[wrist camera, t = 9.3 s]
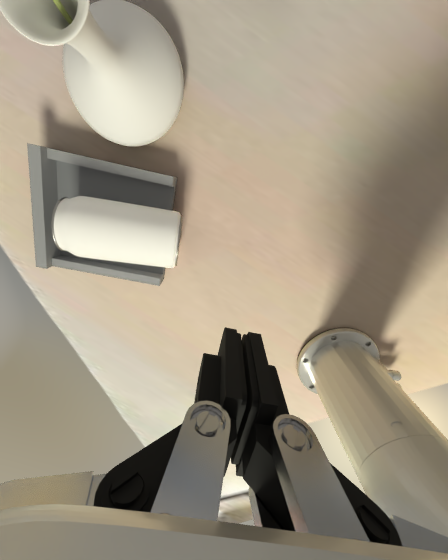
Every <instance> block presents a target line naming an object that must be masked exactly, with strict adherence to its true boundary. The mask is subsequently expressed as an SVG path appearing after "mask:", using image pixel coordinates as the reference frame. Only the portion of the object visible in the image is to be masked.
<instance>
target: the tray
mask: <svg viewBox="0 0 448 560" xmlns="http://www.w3.org/2000/svg"><path fill="white" fill-rule="evenodd" d="M27 146H28V160H29V174H30V188H31V202H32V216H33V230H34V244H35V258H36V267H41V268H46V269H47V268H49V267H51V266H55V267H60V268H66V269H71V270H77V271H82V272H87V273H93V274H98V275H103V276H109V277H114V278H120V279H125V280H130V281H136V282H141V283H147V284H152V285H157V286H160V284H161V283H162V281H163V279H164V273H165V267H157V266H149V265H141V264H132V263H124V262H116V261H108V260H100V259H92V258H84V257H79V256H75V255H73V254H72V253H70V252H68V251H61V250H60V249H58V247H57V246H56V244H55V242H54V240H53V236H52V228H51V222H52V214H53V210H54V207H55V205H56V203H57V202H58V201H59V200H60V199H61V198H63V197H67V198H69V199H70V198H74V197H77V196H86V197H93V198H99V199H106V200H112V201H118V202H124V203H130V204H136V205H142V206H148V207H154V208H160V209H165V210H171V211H173V205H174V198H175V190H176V183H177V177H173V176H168V175H164V174H160V173H155V172H151V171H146V170H142V169H138V168H133V167H129V166H125V165H120V164H116V163H112V162H107V161H103V160H99V159H94V158H90V157H86V156H81V155H77V154H72V153H68V152H64V151H59V150H55V149H51V148H46V147H42V146H37V145H33V144H28V143H27Z"/></svg>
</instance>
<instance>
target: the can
mask: <svg viewBox="0 0 448 560" xmlns="http://www.w3.org/2000/svg"><path fill="white" fill-rule="evenodd" d="M181 225H182V215H181V214H180V213H179V212H176V211H171V210H165V209H160V208H154V207H148V206H142V205H136V204H130V203H124V202H118V201H112V200H106V199H99V198H93V197H86V196H77V197H74V198H70V199H69V198H67V197H63V198H61V199H60V200H59V201H58V202H57V203H56V205H55V207H54V210H53V214H52V222H51V228H52V236H53V240H54V242H55V244H56V246H57V247H58V249H60V250H61V251H68V252H70V253H72V254H73V255H75V256H79V257H84V258H92V259H100V260H108V261H116V262H124V263H132V264H141V265H149V266H157V267H166V268H173V267H174V266H177V259H178V251H179V243H180V234H181Z"/></svg>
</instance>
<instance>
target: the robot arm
mask: <svg viewBox="0 0 448 560" xmlns="http://www.w3.org/2000/svg"><path fill="white" fill-rule="evenodd" d="M379 360H380V356H379V350H378V348H377V346H376V344H375V343H374V342H373V341H372V340H371V339H370V338H369V337H368V336H367V335H366V334H364V333H363V332H360V331H358V330H354V329H349V328H339V329H333V330H329V331H326V332H324V333H322V334H320V335H318V336H316V337H315V338H313V339H312V340H310V341H309V342H308V343H307V344H306V345H305V347H304V348H303V349H302V351H301V352H300V355H299V357H298V361H297V372H298V375H299V377H300V380H301V382H302V383H303V385H304V386H305V387H306V388H307V389H309V390H310V391H312V392H314V393H316V394H318V395H319V397H320V399H321V401H322V403H323V405H324V408H325V410H326V412H327V414H328V416H329V418H330V420H331V422H332V424H333V426H334V428H335V431H336V432H337V435H338V437H339V439H340V441H341V443H342V445H343V447H344V449H345V451H346V454H347V455H348V458H349V460H350V462H351V464H352V466H353V468H354V470H355V472H356V474H357V477H358V479H359V481H360V483H361V485H362V487H363V489H364V491H365V493H366V495H365V494H364V493H363V492H362V491H361V490H360V489H359V488H358V487H356V486H355V485H354V484H353V483H352V482H351V481H350V480H349V479H347V478H346V477H345V476H344V475H343V474H342V473H341V472H339V471H338V470H337V469H336V468H335V467H334V466H332V464H331V463H330V462H329V460H328V459H327V457H326V455H325V453H324V451H323V449H322V447H321V445H320V443H319V441H318V439H317V437H316V435H315V433H314V432H313V430H312V429H311V427H310V426H309V425H308V424H307V423H306V422H304V421H303V420H301V419H300V418H298V417H296V416H293V415H289V412H288V409H287V405H286V402H285V398H284V395H283V391H282V388H281V384H280V381H279V377H278V374H277V370H276V368H275V366H272V365H268V361H267V357H266V353H265V349H264V345H263V341H262V337H261V334H256V333H251V332H248V334H247V335H245V334H244V335H243V337H242V341H241V334H240V333H237V330H235V329H230V328H224V332H223V336H222V340H221V344H220V348H219V352H218V356H217V355H211V354H206V353H204V354H203V358H202V363H201V367H200V372H199V377H198V383H197V389H196V396H195V402H194V404H193V405H192V406H191V407H190V408H189V409H188V411H187V413H186V415H185V418H184V421H183V423H182V424H181V425H179V426H178V427H176V428H175V429H173V430H172V431H170V432H168V433H167V434H165V435H164V436H162V437H161V438H159V439H158V440H156V441H154V442H153V443H151V444H150V445H148V446H147V447H145V448H143V449H142V450H140V451H139V452H138V453H136V454H134V455H133V456H131V457H130V458H128V459H126V460H125V461H123V462H122V463H120V464H119V465H117V466H115V467H114V468H113V469H112V470H110V471H109V472H108V473H107V474H100V475H93V473H94V472H93V471H91V472H82V473H73V474H63V475H54V476H45V477H35V478H26V479H17V480H12V481H9V482H4V483H1V484H0V560H448V440H447V439H446V437H445V436H444V435H443V434H442V433H441V432H440V431H439V430H438V429H437V427H436V426H435V425H434V424H433V423H432V422H431V421H430V420H429V419H428V417H427V416H426V415H425V414H424V413H423V412H422V411H421V410H420V409H419V407H418V406H417V405H416V404H415V403H414V402H413V401H412V400H411V399H410V398H409V396H408V395H407V394H406V393H405V392H404V391H403V390H402V388H401V386H400V385H399V384H398V383H396V382H395V381H394V380H397V381H399V380H400V379H401V374H400V372H398V371H394V370H387V369H386V368H385V367H384V365H383V364H382V363H381V362H380V361H379ZM230 458H231V463H232V464H236V476H243V479H244V480H245V481H246V483H247V484H248V485H249V499H250V504H251V509H252V514H253V519H254V524H255V526H250V525H243V524H235V523H228V522H220V521H217V518H218V511H219V504H220V497H221V490H222V483H223V477H224V476H225V473H226V470H227V467H228V464H229V461H230Z"/></svg>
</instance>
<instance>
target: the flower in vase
mask: <svg viewBox="0 0 448 560" xmlns="http://www.w3.org/2000/svg"><path fill="white" fill-rule="evenodd" d="M0 11H1V12H2V13H3V15H4V16H5V18H6V19H7V20H8V21H9V23H10V24H11V25H12V26H13V27H14V28H15V29H16V30H17V31H18V32H20V33H21V34H22V35H23V36H25V37H26V38H28V39H30V40H32V41H34V42H36V43H39V44H42V45H48V46H58V45H63V44H64V47H63V72H64V77H65V82H66V85H67V88H68V91H69V94H70V96H71V98H72V100H73V102H74V104H75V106H76V108H77V110H78V111H79V113H80V114H81V116H82V117H83V119H84V120H85V121H86V122H87V124H88V125H89V126H90V127H91V128H92V129H93V130H94V131H96V132H97V133H98V134H100V135H101V136H102V137H104V138H106V139H107V140H109V141H112V142H114V143H117V144H120V145H125V146H142V145H146V144H150V143H152V142H154V141H156V140H158V139H159V138H160V137H162V136H163V135H164V134H165V133H166V132H167V131H168V130H169V129H170V128H171V126H172V125H173V123H174V122H175V120H176V118H177V116H178V114H179V111H180V108H181V105H182V100H183V93H184V76H183V69H182V64H181V60H180V57H179V54H178V51H177V49H176V47H175V45H174V42H173V40H172V39H171V37H170V35H169V34H168V32H167V31H166V29H165V28H164V27H163V26H162V25H161V23H160V22H159V21H158V20H157V19H156V18H155V17H154V16H152V15H151V14H150V13H148V12H147V11H146V10H144V9H142V8H141V7H139V6H137V5H135V4H133V3H130V2H128V1H124V0H100V1H97V2H94V3H92V4H90V0H0Z"/></svg>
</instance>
